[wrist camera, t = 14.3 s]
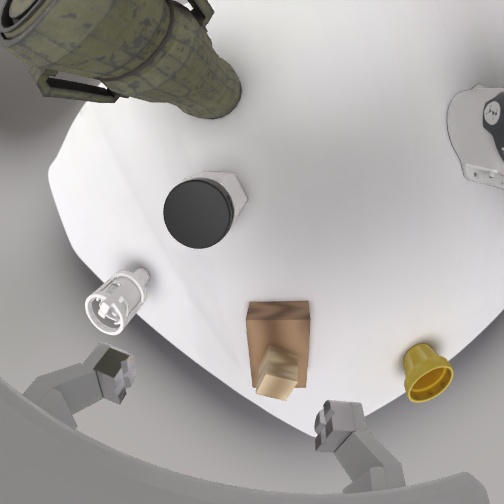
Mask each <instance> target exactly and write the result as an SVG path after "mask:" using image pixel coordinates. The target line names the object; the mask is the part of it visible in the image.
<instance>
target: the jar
mask: <svg viewBox="0 0 504 504" xmlns="http://www.w3.org/2000/svg"><path fill="white" fill-rule="evenodd" d="M247 200H248V199H247V197H246V195H245V193H244V191H243V189H242V187H241V185H240V183H239V181H238V179H237V177H236V175H235V174H234V173H227V172H203V173H199V174H196V175H193V176H190V177H187V178H185V179H184V180H183V182H182V183H180V184H178V185H177V186H176V187H174V188H173V189H172V190H171V192H170V193H169V195H168V196H167V198H166V201H165V204H164V210H163V215H164V221H165V224H166V227H167V229H168V231H169V232H170V234H171V235H172V236H173V237H174V238H175V239H176V240H177V241H178V242H179V243H181V244H183V245H185V246H187V247H190V248H196V249H202V248H207V247H210V246H213V245H215V244H216V243H218V242H220V240H222V239H223V237H224V236H225V235H226V234H227V233H228V231H229V229H230V227H231V226H232V224H233V223H234V221H235V220H236V218H237V217H238V216H239V214H240V211H241V209H242V208H243V206H244V205H245V203H246V202H247Z"/></svg>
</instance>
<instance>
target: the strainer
mask: <svg viewBox="0 0 504 504" xmlns="http://www.w3.org/2000/svg"><path fill="white" fill-rule="evenodd" d="M117 276H119V277H118V278H117ZM149 279H150V276H149V273H148V272H147V271H146V270H145V269H143V268H139V269H137V270H136V271H135V272H134V273H132V272H129V271H124V270H123V271H118V272H117V273H115V274H114V275H113V276H112V277H111V278H110V279H109V280H108V281H107V282H105V283H104V284H103V285H102V286H101V287H100V288H98V289H97V290H96V291H95V292H93V293H92V294H91V295H90V296H89V297H88V298H87V299H86V302H85V308H86V312H87V315H88V317H89V319H90V321H91V322H92V323H93V324H94V326H95V327H97V328H98V329H99V330H100V331H102V332H104V333H106V334H109V335H116V334H119V333H120V332H121V331H122V330H123V329H124V327H125V326H126V325H127V324H128V322H129V321H130V320H131V319H132V317H133V316H134V315H135V314H136V312H137V311H138V310H139V309H140V308H141V306H142V305H143V304H144V303H145V301H146V298H147V292H146V288H145V286H144V285H145V284H146V283H147V282H148V281H149ZM117 283H120V286H118V285H117ZM96 297H97V301H99V300H100V299H101V302H100V303H99V306H100V310H99V312H98V314H99V315H100V316H101V317H103V318H105V317H106V316H107V317H108V318H110V319H112V320H114V321H116V322H115V323H114V324H121V325H120V327H119V328H110V327H107V326H105V325H104V324H102V323H101V322H100V321H99V320H98V319H97V318H96V316H95V314H94V312H93V310H92V305H91V302H92V301H93V300H94V299H95V298H96ZM131 311H132V312H131ZM130 312H131V313H130ZM129 313H130V315H129ZM128 315H129V316H128ZM127 316H128V317H127Z"/></svg>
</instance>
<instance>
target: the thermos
mask: <svg viewBox="0 0 504 504" xmlns="http://www.w3.org/2000/svg"><path fill="white" fill-rule="evenodd" d="M188 2H189V3H190V4H191V6H192V7H193V8H194V9H192V10H191V11H190V10H189V9H188V8H187V7H185V6H183V5H182V4H180V3H178V2H176V1H173V0H6V1H5V3H4V5H3V8H2V10H1V14H0V46H1V47H3V48H4V49H6V50H7V51H8V52H10V53H11V54H12V55H14V56H15V57H17V58H18V59H19V60H21V61H22V62H24V63H26V64H28V65H29V66H32V67H31V68H30V70H29V73H30V75H31V78H32V80H33V82H34V84H35V86H36V87H37V89H38V90H39V91H40V93H41V94H42V95H43V96H44V97H55V98H66V99H75V100H83V101H91V102H98V103H115V102H116V101H117V99H118V98H119V97H124V98H129V96H130V97H133V98H137V99H141V100H145V101H148V102H162V103H165V102H168V103H171V104H173V105H176V106H178V107H179V108H180V109H181V110H182V111H183V112H185V113H187V114H189V115H192V116H195V117H198V118H204V119H217V118H222V117H223V116H225V115H227V114H229V113H230V112H231V111H232V110H233V109H234V108H235V107H236V106H237V104H238V102H239V101H240V98H241V92H242V90H241V84H240V81H239V78H238V77H237V75H236V73H235V71H234V70H233V68H232V67H231V65H230V64H228V63H227V62H226V61H225V60H223V59H221V58H220V57H219V56H218V55H217V54H216V52H215V51H214V50H213V48H212V42H211V39H210V38H209V36H208V35H207V32H208V31H207V29H206V27H205V26H206V25H207V24H208V22H209V21H210V19H211V17H212V15H213V14H214V10H213V9H212V7H211V6H210V4H209V3H208V1H207V0H188ZM58 71H61V72H66V73H71V74H75V75H80V76H84V77H88V78H94V79H97V80H100V81H101V82H102V83H103V84H104V85H105V86H106V87H107V90H106V89H105V88H101V87H97V86H92V85H87V84H83V83H77V82H72V81H67V80H61V79H55V78H48V77H49V76H56V74H57V73H58Z"/></svg>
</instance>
